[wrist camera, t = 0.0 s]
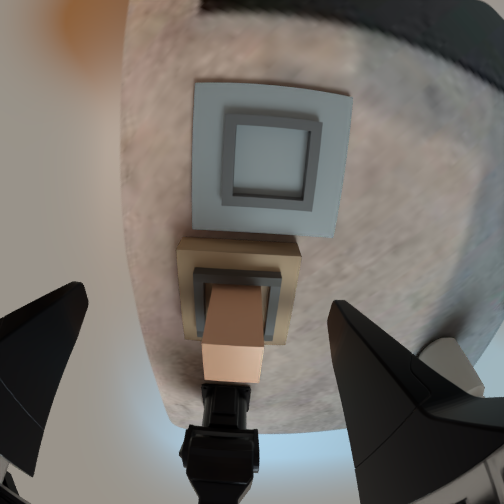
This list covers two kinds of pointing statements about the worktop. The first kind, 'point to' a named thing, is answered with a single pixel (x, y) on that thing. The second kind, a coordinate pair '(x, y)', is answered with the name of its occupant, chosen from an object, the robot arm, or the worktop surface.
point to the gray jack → (268, 158)
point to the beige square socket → (238, 280)
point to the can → (452, 365)
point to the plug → (233, 334)
